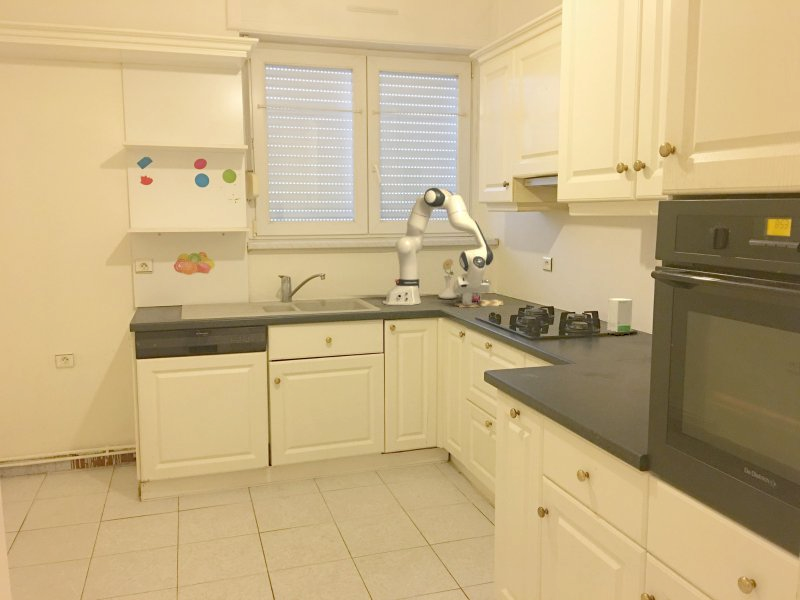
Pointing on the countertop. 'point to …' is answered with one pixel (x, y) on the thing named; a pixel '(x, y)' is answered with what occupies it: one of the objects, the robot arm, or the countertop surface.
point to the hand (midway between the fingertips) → (468, 296)
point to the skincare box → (619, 314)
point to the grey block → (467, 299)
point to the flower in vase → (447, 281)
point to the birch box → (490, 302)
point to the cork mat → (467, 305)
